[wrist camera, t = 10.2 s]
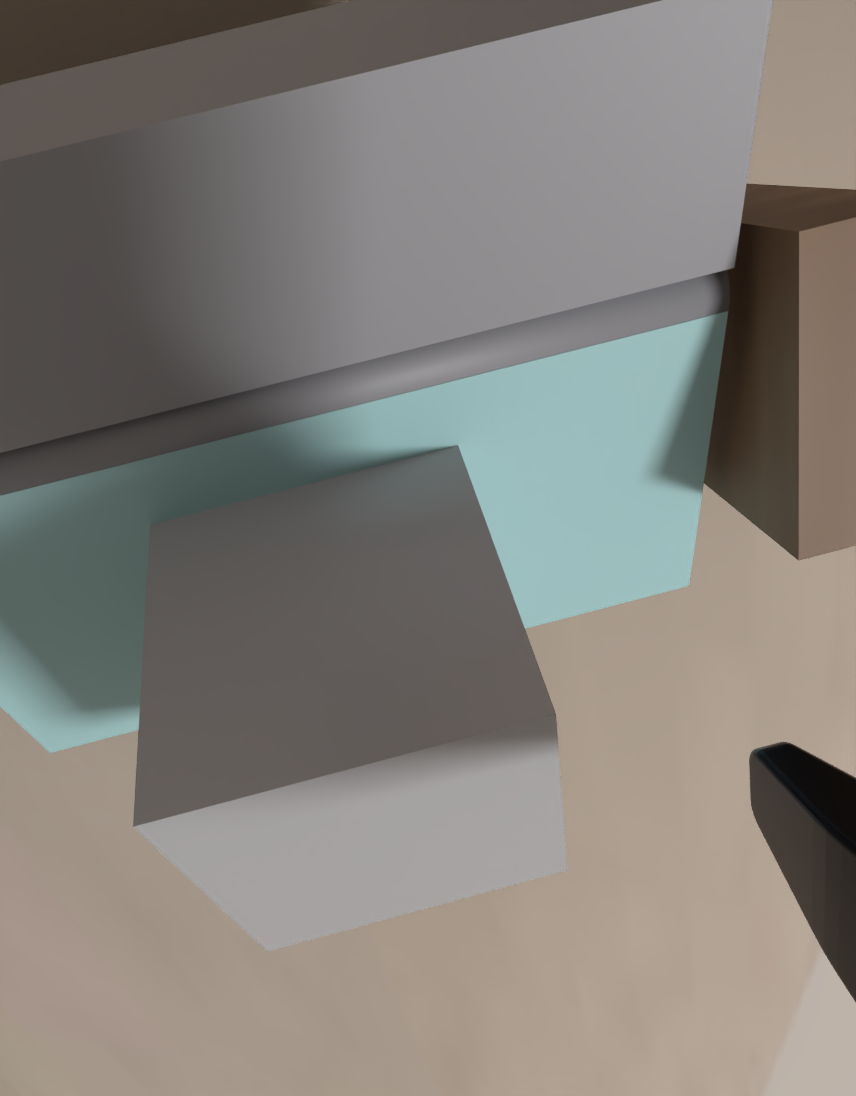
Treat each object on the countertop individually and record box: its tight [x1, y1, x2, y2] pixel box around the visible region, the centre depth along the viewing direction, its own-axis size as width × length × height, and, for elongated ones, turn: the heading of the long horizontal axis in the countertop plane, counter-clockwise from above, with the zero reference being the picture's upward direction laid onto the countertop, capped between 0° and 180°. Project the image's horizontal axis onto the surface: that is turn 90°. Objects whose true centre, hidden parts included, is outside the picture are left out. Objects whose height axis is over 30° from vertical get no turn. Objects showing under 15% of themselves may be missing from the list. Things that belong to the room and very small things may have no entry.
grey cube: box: [133, 445, 567, 952], centre depth 13 cm, size 5×5×5 cm
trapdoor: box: [0, 0, 773, 753], centre depth 13 cm, size 14×11×3 cm
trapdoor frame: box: [704, 184, 856, 560], centre depth 15 cm, size 20×5×8 cm, turn 103°
